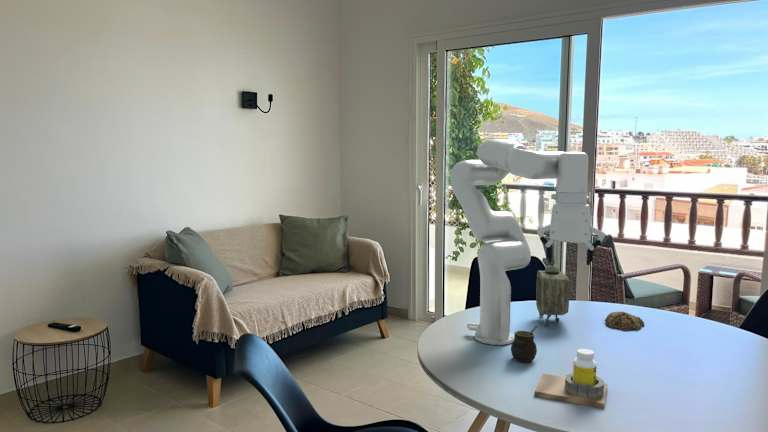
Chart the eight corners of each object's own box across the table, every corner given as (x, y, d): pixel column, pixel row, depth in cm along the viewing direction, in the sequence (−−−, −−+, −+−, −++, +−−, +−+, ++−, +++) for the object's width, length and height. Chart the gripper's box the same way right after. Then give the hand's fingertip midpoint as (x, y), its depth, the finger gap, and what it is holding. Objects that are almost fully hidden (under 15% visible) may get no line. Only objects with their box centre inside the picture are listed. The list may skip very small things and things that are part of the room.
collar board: (534, 395, 135) (534, 381, 135) (542, 377, 146) (542, 364, 146) (604, 408, 128) (604, 393, 128) (607, 388, 139) (607, 374, 139)
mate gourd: (505, 357, 161) (506, 324, 160) (526, 354, 164) (527, 321, 163) (520, 366, 154) (521, 331, 153) (542, 362, 157) (543, 328, 156)
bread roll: (609, 318, 199) (609, 305, 198) (646, 324, 192) (647, 310, 191) (599, 327, 189) (600, 313, 188) (638, 334, 181) (639, 319, 181)
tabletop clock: (535, 315, 202) (537, 248, 199) (561, 316, 200) (563, 248, 198) (541, 327, 187) (543, 255, 185) (568, 328, 186) (571, 256, 183)
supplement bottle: (597, 395, 133) (599, 356, 132) (573, 393, 134) (575, 354, 133) (593, 385, 138) (594, 348, 137) (570, 384, 139) (572, 346, 138)
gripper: (535, 199, 145) (533, 262, 147) (606, 201, 138) (603, 268, 140) (540, 196, 152) (538, 257, 154) (607, 199, 144) (604, 262, 146)
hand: (569, 262), depth 147 cm, fingers open, 9 cm apart
